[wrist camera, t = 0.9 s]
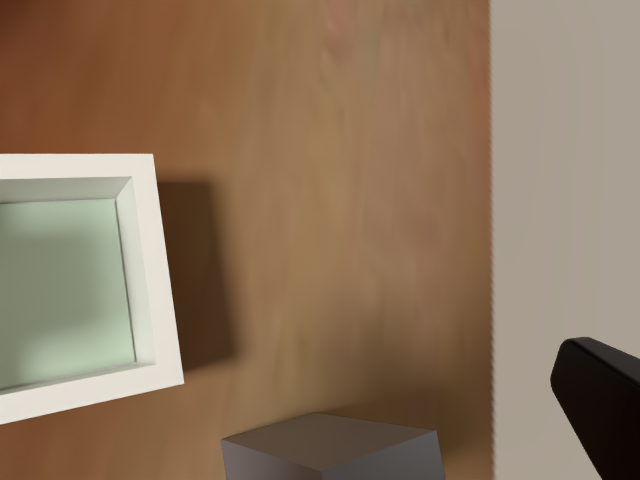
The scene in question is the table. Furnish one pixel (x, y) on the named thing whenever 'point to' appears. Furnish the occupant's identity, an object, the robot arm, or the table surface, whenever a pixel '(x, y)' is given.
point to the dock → (82, 283)
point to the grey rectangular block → (333, 451)
